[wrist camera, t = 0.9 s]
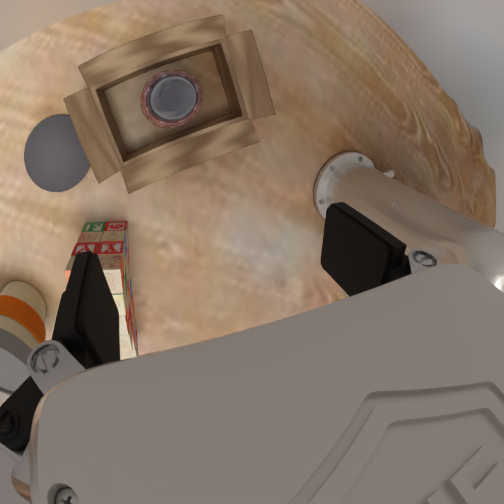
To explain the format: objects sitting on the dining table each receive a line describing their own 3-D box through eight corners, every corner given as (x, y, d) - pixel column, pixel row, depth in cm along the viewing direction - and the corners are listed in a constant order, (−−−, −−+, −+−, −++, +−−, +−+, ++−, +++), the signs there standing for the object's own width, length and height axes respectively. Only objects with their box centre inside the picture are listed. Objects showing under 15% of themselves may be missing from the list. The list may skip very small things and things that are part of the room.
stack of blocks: (138, 333, 46) (142, 391, 36) (104, 334, 44) (102, 391, 34) (127, 219, 36) (121, 269, 26) (84, 221, 34) (63, 271, 24)
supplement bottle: (195, 116, 32) (213, 124, 23) (148, 128, 31) (146, 140, 22) (188, 72, 29) (202, 60, 20) (139, 83, 28) (132, 75, 19)
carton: (229, 23, 27) (246, 9, 21) (260, 128, 36) (281, 135, 30) (73, 81, 24) (55, 78, 19) (115, 185, 33) (108, 204, 28)
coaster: (76, 100, 26) (75, 100, 25) (104, 169, 32) (104, 170, 31) (15, 140, 25) (14, 140, 24) (44, 203, 30) (43, 204, 30)
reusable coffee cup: (0, 322, 35) (-21, 386, 23) (-10, 264, 30) (-47, 329, 18) (57, 335, 41) (46, 405, 29) (54, 279, 36) (31, 352, 24)
